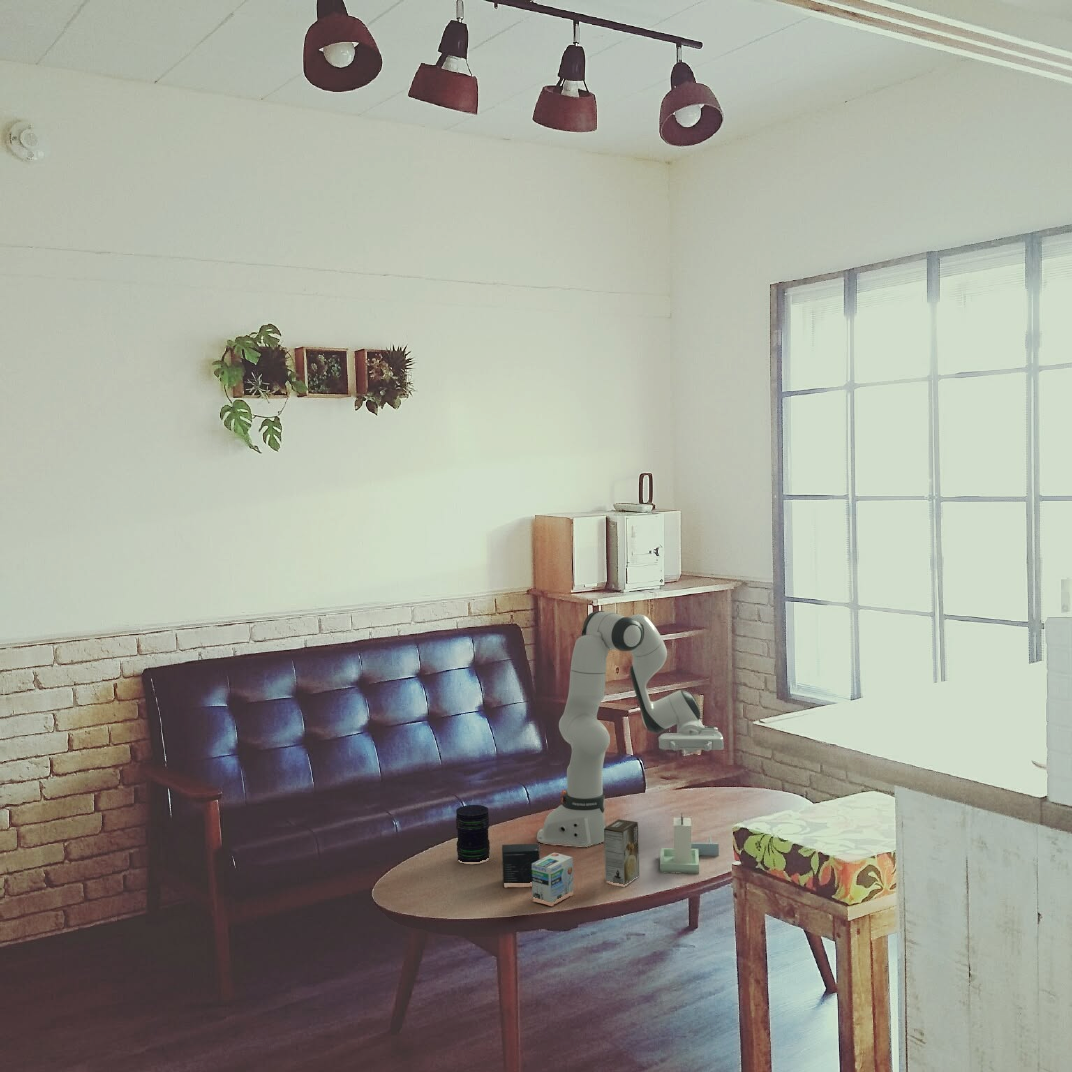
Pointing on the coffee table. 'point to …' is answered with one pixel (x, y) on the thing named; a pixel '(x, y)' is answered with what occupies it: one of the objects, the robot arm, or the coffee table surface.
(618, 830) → the coffee box
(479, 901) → the coffee table surface
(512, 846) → the box
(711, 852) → the dock
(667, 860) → the tray
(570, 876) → the light bulb box
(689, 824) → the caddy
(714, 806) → the coffee table surface
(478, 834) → the storage jar
